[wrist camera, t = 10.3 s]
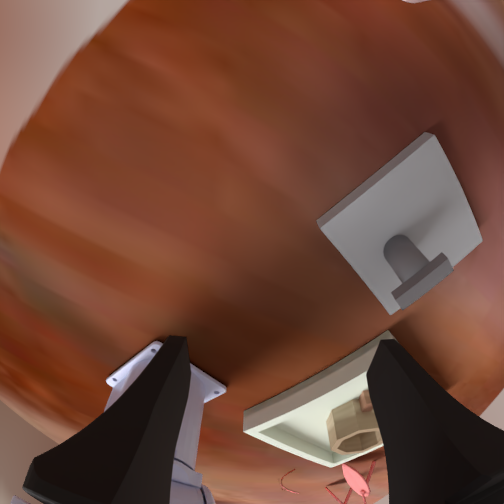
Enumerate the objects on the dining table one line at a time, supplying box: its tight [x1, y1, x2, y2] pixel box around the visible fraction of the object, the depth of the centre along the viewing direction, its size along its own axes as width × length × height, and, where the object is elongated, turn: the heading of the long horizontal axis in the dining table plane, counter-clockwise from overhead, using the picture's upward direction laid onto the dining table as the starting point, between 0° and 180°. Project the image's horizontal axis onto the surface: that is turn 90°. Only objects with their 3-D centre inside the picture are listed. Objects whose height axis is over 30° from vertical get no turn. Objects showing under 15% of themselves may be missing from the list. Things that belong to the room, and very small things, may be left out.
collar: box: [326, 390, 383, 455], centre depth 25 cm, size 8×6×4 cm
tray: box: [243, 330, 399, 467], centre depth 27 cm, size 16×16×2 cm
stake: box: [316, 132, 483, 315], centre depth 16 cm, size 9×9×5 cm
